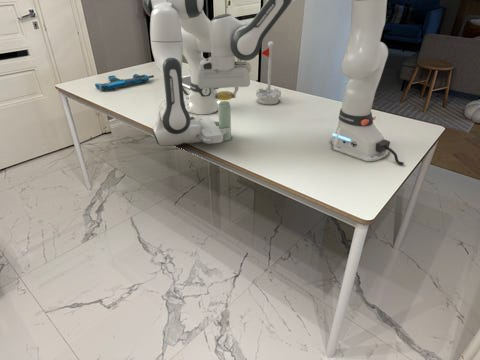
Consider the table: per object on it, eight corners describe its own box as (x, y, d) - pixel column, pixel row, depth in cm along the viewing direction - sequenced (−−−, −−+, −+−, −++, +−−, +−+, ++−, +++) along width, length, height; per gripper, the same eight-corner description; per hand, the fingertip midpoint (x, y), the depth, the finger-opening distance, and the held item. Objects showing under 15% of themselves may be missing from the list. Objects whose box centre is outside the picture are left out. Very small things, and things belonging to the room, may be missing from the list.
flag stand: (273, 95, 188) (277, 37, 172) (284, 103, 178) (289, 42, 162) (252, 98, 184) (253, 39, 168) (262, 106, 174) (264, 45, 158)
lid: (215, 96, 136) (215, 91, 135) (229, 94, 137) (229, 90, 136) (219, 100, 131) (219, 96, 130) (233, 99, 133) (233, 94, 132)
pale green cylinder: (233, 137, 145) (232, 102, 136) (226, 141, 141) (225, 106, 133) (224, 134, 147) (222, 99, 138) (217, 138, 143) (215, 103, 135)
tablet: (169, 80, 212) (169, 79, 212) (195, 74, 223) (195, 73, 223) (198, 92, 192) (198, 92, 192) (226, 85, 203) (226, 84, 203)
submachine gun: (139, 68, 224) (158, 74, 208) (140, 74, 226) (159, 81, 209) (87, 78, 206) (103, 86, 189) (89, 85, 208) (104, 93, 191)
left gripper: (200, 134, 128) (235, 129, 132) (188, 115, 144) (219, 110, 148) (201, 149, 131) (235, 143, 135) (189, 128, 147) (220, 124, 151)
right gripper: (249, 59, 130) (249, 94, 138) (196, 61, 129) (199, 96, 136) (251, 63, 125) (251, 99, 132) (196, 65, 124) (199, 102, 131)
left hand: (226, 126), depth 141 cm, fingers closed on pale green cylinder, 5 cm apart
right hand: (224, 98), depth 134 cm, fingers closed on lid, 6 cm apart
